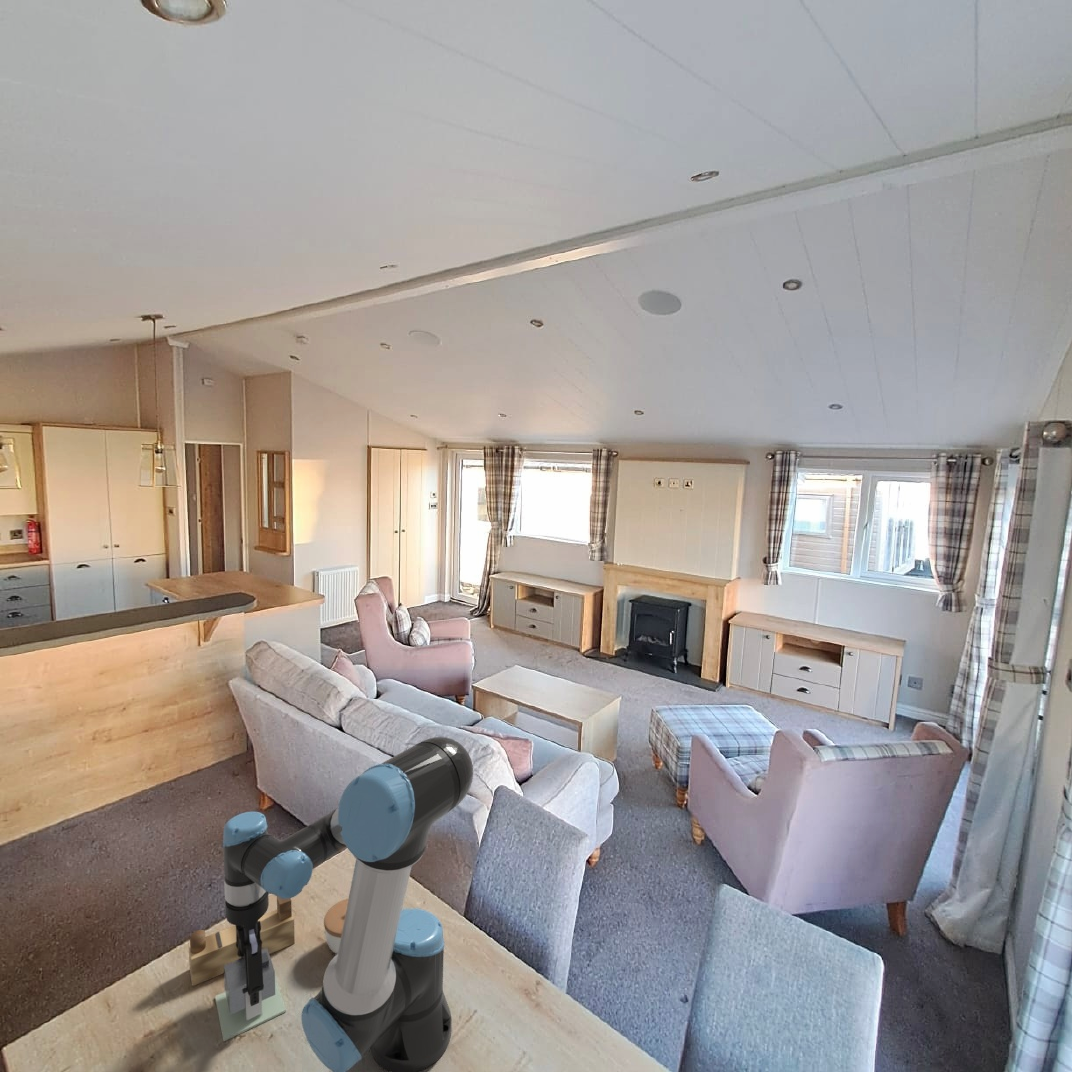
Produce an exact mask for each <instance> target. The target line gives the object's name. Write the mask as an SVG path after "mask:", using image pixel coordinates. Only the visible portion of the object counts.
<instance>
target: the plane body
mask: <svg viewBox="0 0 1072 1072" xmlns="http://www.w3.org/2000/svg"><path fill="white" fill-rule="evenodd" d="M292 911H293V910H292V898H290V899H282V898H279V897H277V896H276V909H275V910H272V911H271V912H266V913H265V914H264V915H263V916H262V917H261V918H260V919H259V920H258V921H260V923H261V931H260V939H261V941H262V950H263V949H265V948H268V952H269V955H270V954H273V953H276V952H278V951H280V950H282V949H284V948H287V947H289V946H292V945H294V944H295V943H296V942H295V941H296V939H295V938H296V937H295V917H294V915H293V912H292ZM256 941H257V937H256ZM237 953H238V948H237V947H236V925H233V926H231V927H228V928H225V929H222V930H220V931H217V932H215V933H213V934H209V935H207V936H206V931H205V930H203V929H198V930H195V931H194V932H192V933H191V934H190V936H189V943H188V956H189V957H188V959H189V960H188V961H189V974H190V980H191V986H192V987H194V986H196V985H199V984H202V983H203V982H206V981H209V980H210V979H213V978H215V977H218V976H221V975H222V974H223V975H224V965H226V964H229V963H231V962H234V961H236V960H238V959H240V958H241V956H240V957H238V955H237Z"/></svg>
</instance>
